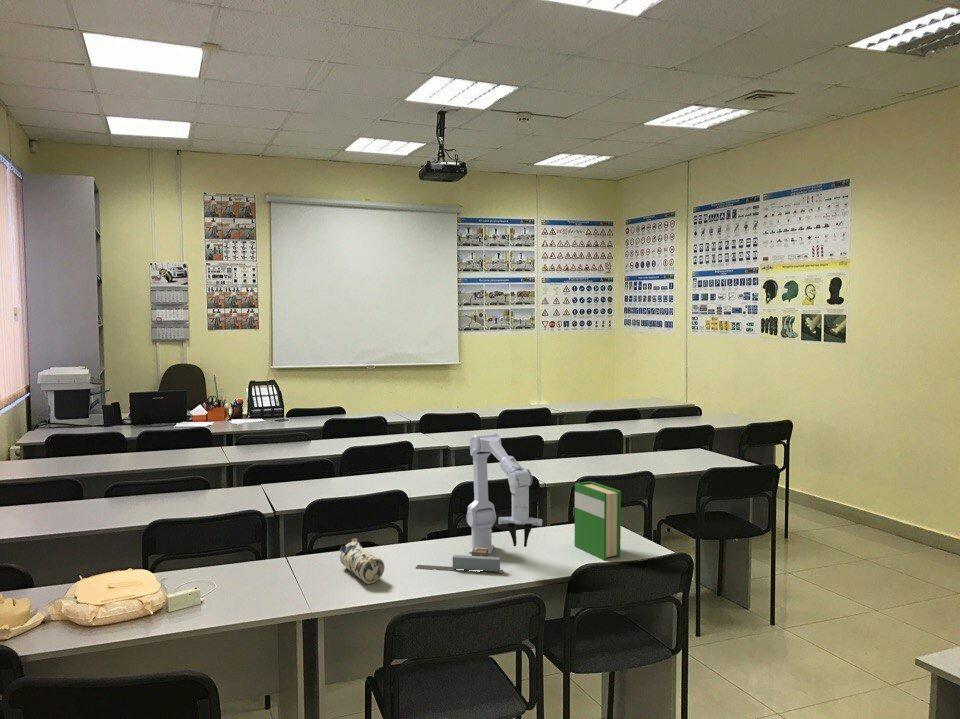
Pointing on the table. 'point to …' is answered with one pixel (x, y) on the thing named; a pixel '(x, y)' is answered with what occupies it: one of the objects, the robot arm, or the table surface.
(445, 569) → the metal track
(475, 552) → the walnut letter block
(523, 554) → the table surface
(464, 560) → the slate screen
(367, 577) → the pencil case
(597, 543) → the hardback book
